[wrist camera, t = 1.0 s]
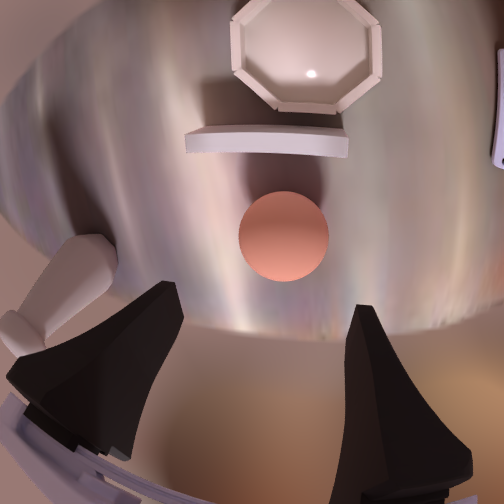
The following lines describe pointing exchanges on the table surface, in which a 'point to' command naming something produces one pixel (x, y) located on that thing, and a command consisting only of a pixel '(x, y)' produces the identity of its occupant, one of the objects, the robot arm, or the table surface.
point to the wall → (269, 140)
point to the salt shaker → (60, 292)
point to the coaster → (306, 53)
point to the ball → (283, 236)
